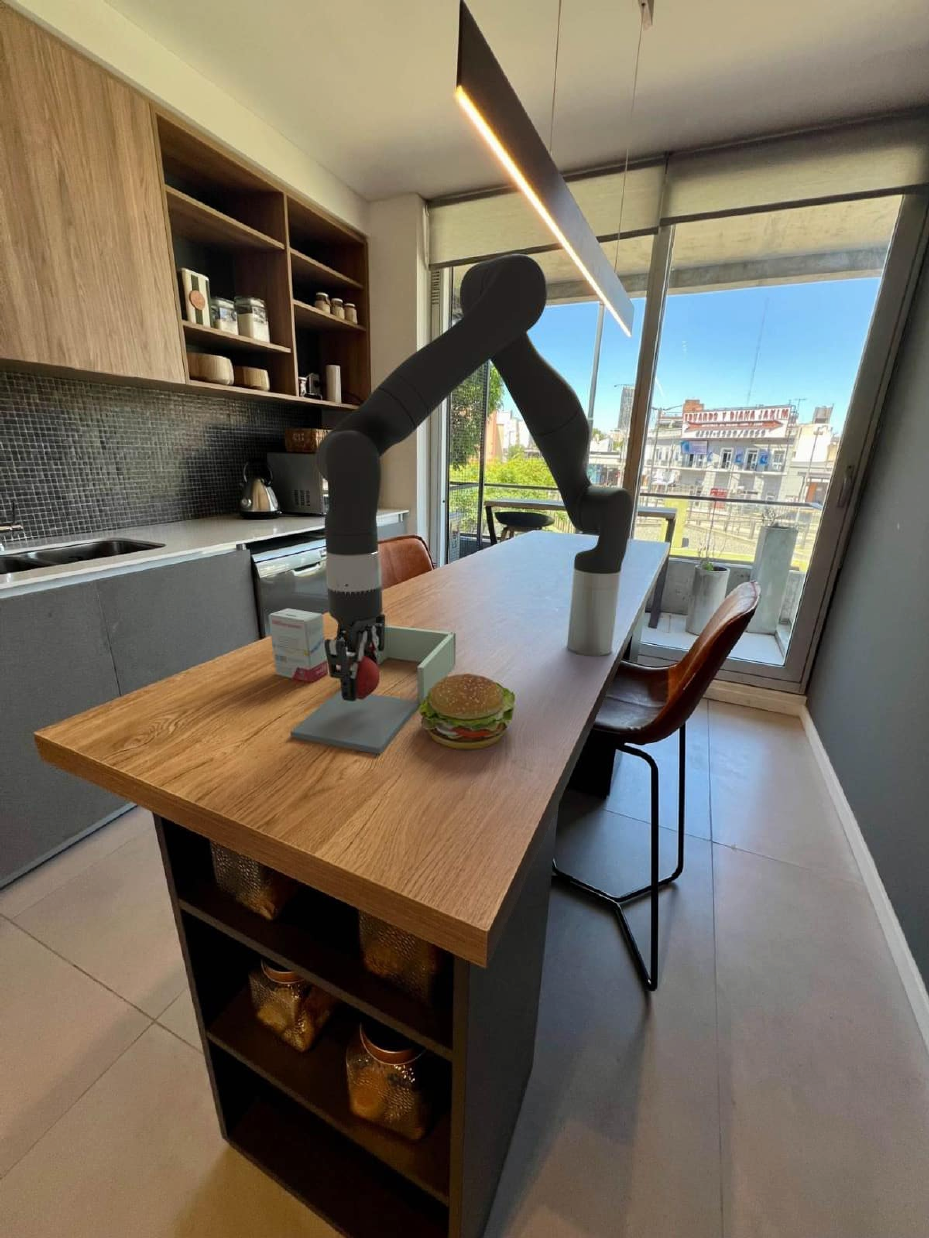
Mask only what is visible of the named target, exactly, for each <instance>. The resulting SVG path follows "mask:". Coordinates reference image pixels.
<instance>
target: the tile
mask: <svg viewBox="0 0 929 1238" xmlns="http://www.w3.org/2000/svg"><path fill="white" fill-rule="evenodd" d="M419 706H420V704H419V701H418V700H414V699H413V700H412V699H407V698H401V697H400V698H399V697H393V696H387V695H381V694H375V693H371V694H370V695H368V696H367V697H366V698H365V699H362V700H360V699H356V700H355V701H354V702H353V701H347V700H344V699H343V698H342V692H341V689H339V690H338V691H337V692H336V693H334V694H333V695H332V696H331V697H330V698H329V699H327V700H326V701H325V702H323V704H321V705H320V706H319V707H318V708H317V709H315V710H314V711H313V712H312V713H310V714H309V715H308V716H307V717H306V718H305V719H302V721H301V722H300V723H298V724H297V725H296V726H295V727H294V728H293V729H291V730H290V731H289V733H290V738H291V737H293V739H297V740H301V739H302V740H303V741H306V742H312V743H318V744H322V745H328V746H332V747H339V748H342V749H350V750H354V751H358V752H364V753H369V754H375V755H378V756H379V755H381V754H382V753H383V752H384V751H385V750H386V748H387V747H388V746H389V745H390V744H391V742H392V740H394V739H395V737H396V736H397V735H398V733H399V732H401V730H402V729H403V727H404V726H405V724H406V723H407V722H408V721H409V720H410V718H411V717H413V715H414V713H415V712H416V711H418V710H417V709H418V708H419Z"/></svg>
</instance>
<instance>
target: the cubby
mask: <svg viewBox="0 0 929 1238" xmlns="http://www.w3.org/2000/svg"><path fill="white" fill-rule="evenodd" d="M456 635H457V634H456V632H450V631H441V630H432V629H425V628H424V629H423V628H414V627H406V626H398V625H390V624H388V625H387V624H385V644H384V650H383V651H380V652H379V653H380V656H379V658H378V659H377V667H378V666H379V665H381V664H382V663H383V662H384V661H385V660H386V659H388V658H389V659H396V660H404V661H410V662H411V661H412V662H418V663H420V664H419V665H418V666H417V670H416V671H417V701H419V705H421V703H422V702H423V701H424V700H425V698H426V697H427V696H428V690H430V689H431V688H432V687H433V686H434V685H435V684H436V683H437V682H438V681H440V680H442V679H444V678H446V677H448V675H449V673H450V672H451V670H452V669H453V668H454V667H455V666H456V651H457V650H456V648H457V647H456V638H457V637H456ZM377 639H378V642H379V637H378V636H377ZM346 653H347V656H354V655H355V653H350V652H347V651H346Z"/></svg>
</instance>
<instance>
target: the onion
mask: <svg viewBox="0 0 929 1238" xmlns="http://www.w3.org/2000/svg"><path fill="white" fill-rule="evenodd" d="M355 654H356V653H355ZM348 665H349V670H350V667H351V662H350V661H348ZM380 676H381V675H380V669H379V667H378V666H377V665H376V664H375V663H374V662H373V661H372V660H371V659H370V658H368V657H366V656H364V651H363V656H362V661H361V662H359V663H358V667H357V673H356V677H357V690H358V698H357V699H360V700H362V699H365V698H366V697H367V696H368V695H370V694H373V692H374V691H375V690H376V689H377V688H378V685H379V684H380ZM339 681H340V683H341V680H340V679H339Z"/></svg>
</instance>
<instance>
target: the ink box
mask: <svg viewBox="0 0 929 1238" xmlns="http://www.w3.org/2000/svg"><path fill="white" fill-rule="evenodd" d="M323 617H324V616H323V613H319V612H311V611H307V610H306V611H305V610H300V609H293V608H284V609H282V610H279V611H274V612H272V613H270V614H268V623H269V630H270V637H271V645H272V654H273V661H274V669H275V675H277V676H280V675H281V676H280V677H284V678H285V677H286V678H288V679H294V680H298V681H303V682H307V683H314V682H316V681H318V680H320V679H321V678H323V677H324V676H326V675H328V673H329V667H328V662H327V657H326V651H325V646H324V643H325V640H326V638H325V627H324V618H323Z"/></svg>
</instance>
